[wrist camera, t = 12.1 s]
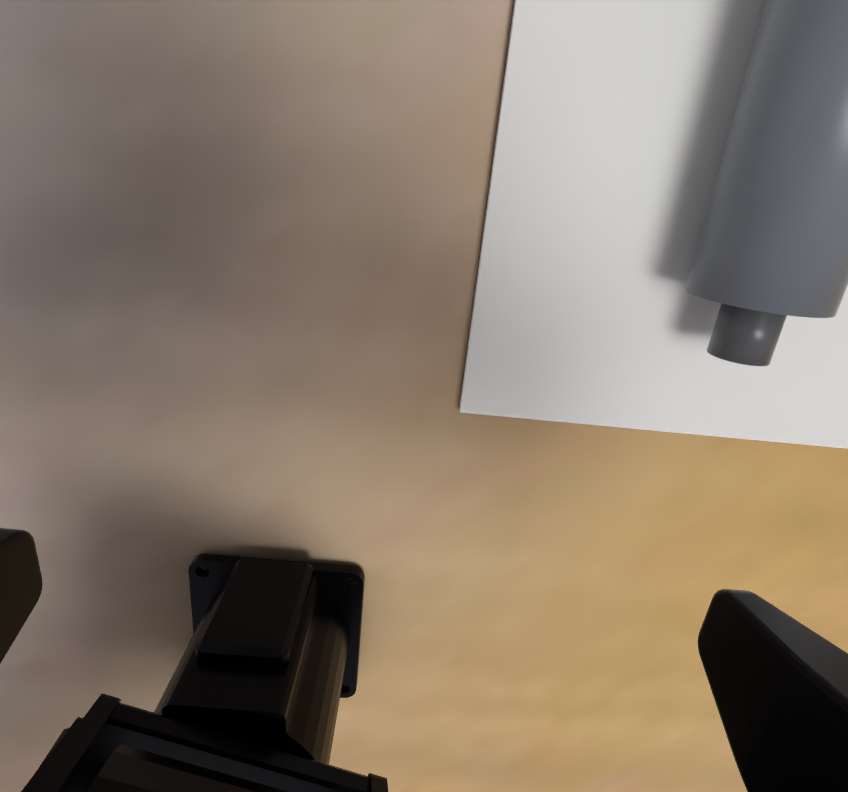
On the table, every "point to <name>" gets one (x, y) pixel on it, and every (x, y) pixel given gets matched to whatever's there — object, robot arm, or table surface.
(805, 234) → the marker
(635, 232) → the paper sheet
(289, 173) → the table surface
